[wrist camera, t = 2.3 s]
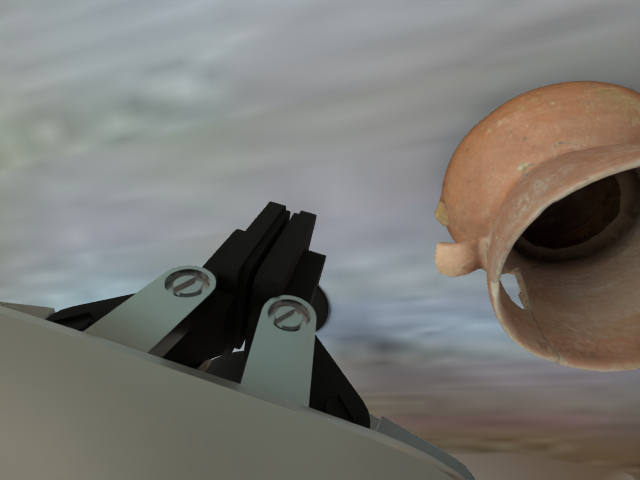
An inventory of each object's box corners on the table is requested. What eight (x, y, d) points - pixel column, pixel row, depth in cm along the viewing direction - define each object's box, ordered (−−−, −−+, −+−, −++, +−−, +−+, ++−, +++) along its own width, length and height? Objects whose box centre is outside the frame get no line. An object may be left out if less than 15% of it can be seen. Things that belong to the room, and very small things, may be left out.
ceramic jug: (429, 259, 32) (450, 388, 21) (413, 106, 26) (430, 166, 14) (656, 238, 27) (859, 393, 15) (710, 40, 21) (1146, 44, 9)
